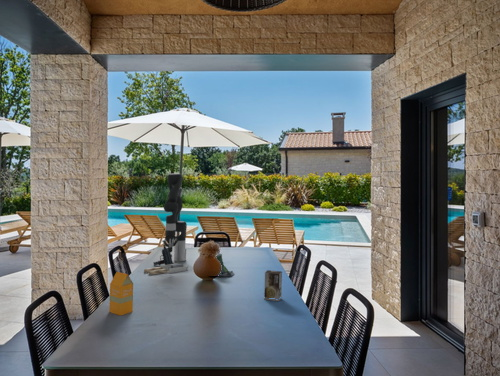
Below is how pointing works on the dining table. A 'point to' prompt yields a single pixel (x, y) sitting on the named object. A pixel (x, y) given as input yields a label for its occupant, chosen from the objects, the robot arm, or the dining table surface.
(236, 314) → the dining table surface
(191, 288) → the dining table surface
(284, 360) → the dining table surface
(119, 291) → the orange juice
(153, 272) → the slotted rail
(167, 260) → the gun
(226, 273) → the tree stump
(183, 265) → the tray
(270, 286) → the coffee box
